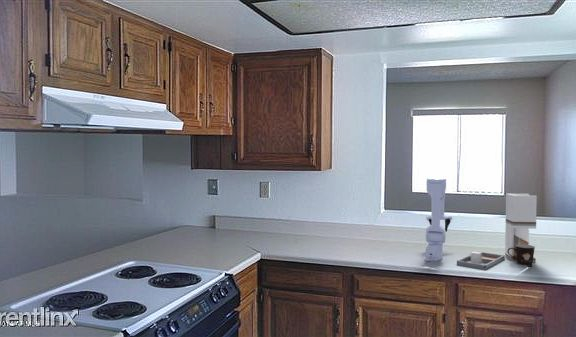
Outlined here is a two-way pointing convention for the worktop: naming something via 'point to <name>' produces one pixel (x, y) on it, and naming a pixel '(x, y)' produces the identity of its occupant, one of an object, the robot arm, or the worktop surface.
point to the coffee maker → (519, 221)
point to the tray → (487, 261)
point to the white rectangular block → (476, 257)
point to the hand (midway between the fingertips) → (439, 231)
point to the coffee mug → (524, 254)
